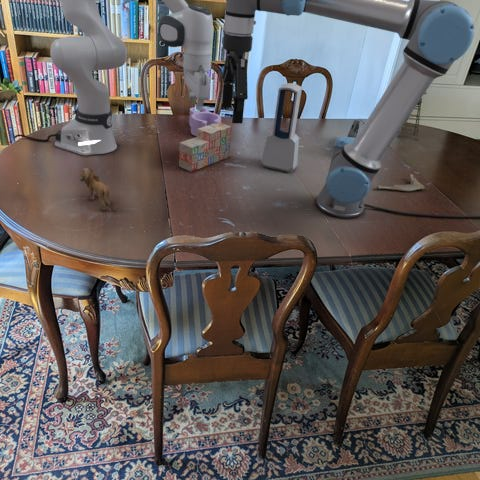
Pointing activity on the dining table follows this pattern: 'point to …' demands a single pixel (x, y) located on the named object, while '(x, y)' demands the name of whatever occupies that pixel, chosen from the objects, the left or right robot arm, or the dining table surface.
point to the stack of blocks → (205, 147)
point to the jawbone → (405, 186)
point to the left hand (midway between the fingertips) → (195, 105)
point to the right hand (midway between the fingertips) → (231, 114)
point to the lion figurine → (95, 186)
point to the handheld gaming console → (354, 129)
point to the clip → (202, 119)
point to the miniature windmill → (415, 119)
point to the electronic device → (283, 134)
